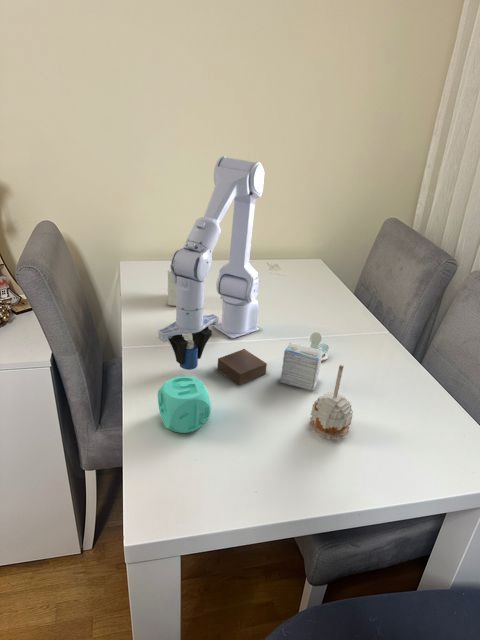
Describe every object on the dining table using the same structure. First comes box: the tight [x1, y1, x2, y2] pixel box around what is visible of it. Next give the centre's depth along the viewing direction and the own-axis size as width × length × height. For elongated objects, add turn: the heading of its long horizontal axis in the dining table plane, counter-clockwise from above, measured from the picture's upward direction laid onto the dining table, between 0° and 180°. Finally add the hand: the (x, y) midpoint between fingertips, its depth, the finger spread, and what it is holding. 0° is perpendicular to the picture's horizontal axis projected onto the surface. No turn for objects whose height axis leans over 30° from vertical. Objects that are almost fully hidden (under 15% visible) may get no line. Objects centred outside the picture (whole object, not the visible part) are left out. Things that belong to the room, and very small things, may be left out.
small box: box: [167, 268, 176, 307], centre depth 141 cm, size 8×6×10 cm
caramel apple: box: [308, 364, 354, 440], centre depth 95 cm, size 8×8×15 cm
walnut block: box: [216, 348, 268, 386], centre depth 113 cm, size 8×8×3 cm
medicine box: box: [280, 342, 323, 392], centre depth 110 cm, size 8×4×9 cm, turn 71°
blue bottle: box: [179, 339, 199, 371], centre depth 109 cm, size 4×4×6 cm
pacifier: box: [309, 331, 329, 362], centre depth 121 cm, size 7×6×6 cm
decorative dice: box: [157, 375, 212, 434], centre depth 94 cm, size 8×8×8 cm
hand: (188, 359), depth 110 cm, fingers closed on blue bottle, 4 cm apart
